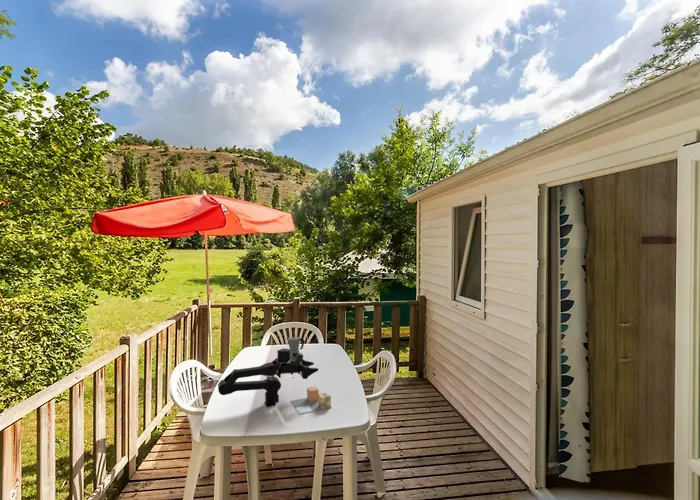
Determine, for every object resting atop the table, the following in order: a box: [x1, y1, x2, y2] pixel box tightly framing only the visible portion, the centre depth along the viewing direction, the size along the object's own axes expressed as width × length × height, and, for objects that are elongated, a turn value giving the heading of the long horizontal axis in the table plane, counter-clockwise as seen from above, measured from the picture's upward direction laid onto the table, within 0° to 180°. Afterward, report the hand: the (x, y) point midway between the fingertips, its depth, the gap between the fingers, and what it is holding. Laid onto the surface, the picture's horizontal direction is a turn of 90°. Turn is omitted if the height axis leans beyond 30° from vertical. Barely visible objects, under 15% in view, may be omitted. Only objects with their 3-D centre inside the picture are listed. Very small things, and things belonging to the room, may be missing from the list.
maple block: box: [319, 392, 332, 410], centre depth 195 cm, size 5×5×6 cm
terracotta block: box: [306, 385, 320, 402], centre depth 204 cm, size 5×5×6 cm
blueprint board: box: [290, 397, 333, 416], centre depth 198 cm, size 18×18×1 cm
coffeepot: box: [286, 334, 306, 360], centre depth 280 cm, size 15×9×18 cm, turn 70°
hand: (315, 366), depth 211 cm, fingers open, 9 cm apart
